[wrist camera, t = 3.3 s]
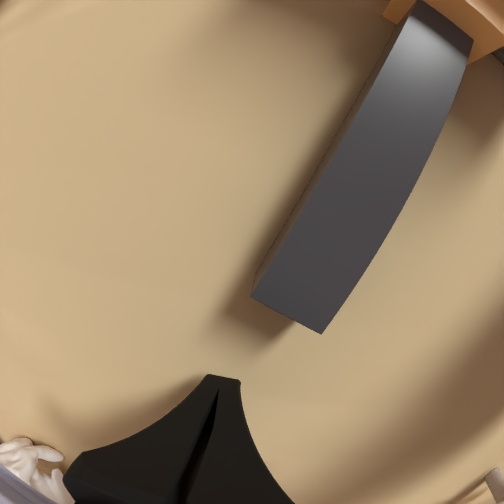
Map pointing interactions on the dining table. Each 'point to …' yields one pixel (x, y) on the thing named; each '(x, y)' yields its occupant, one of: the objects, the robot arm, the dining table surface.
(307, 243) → the plug
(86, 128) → the dining table surface
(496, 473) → the toy jack
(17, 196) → the dining table surface
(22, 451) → the white lumpy piece
